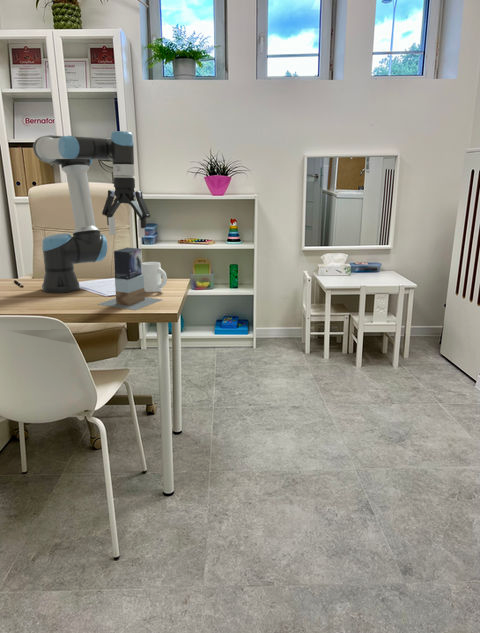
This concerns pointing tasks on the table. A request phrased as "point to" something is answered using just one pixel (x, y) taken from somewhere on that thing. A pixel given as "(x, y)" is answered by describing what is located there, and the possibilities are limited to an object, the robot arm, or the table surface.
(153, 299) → the mat
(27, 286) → the table surface
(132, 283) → the block top
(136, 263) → the small box
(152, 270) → the mug
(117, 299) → the block bottom
